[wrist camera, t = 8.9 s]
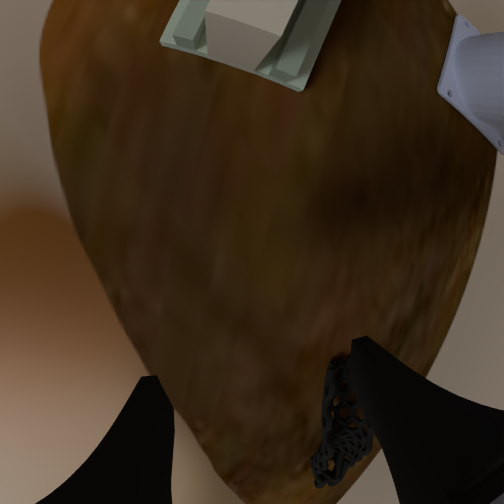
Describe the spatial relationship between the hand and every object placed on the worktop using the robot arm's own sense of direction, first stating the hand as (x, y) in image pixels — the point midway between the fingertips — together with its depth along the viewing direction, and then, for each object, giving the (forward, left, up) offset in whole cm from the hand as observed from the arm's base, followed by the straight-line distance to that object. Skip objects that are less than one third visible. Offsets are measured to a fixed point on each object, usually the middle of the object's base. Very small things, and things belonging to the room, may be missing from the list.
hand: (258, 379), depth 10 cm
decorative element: (-16, +15, -10) cm, 24 cm away
